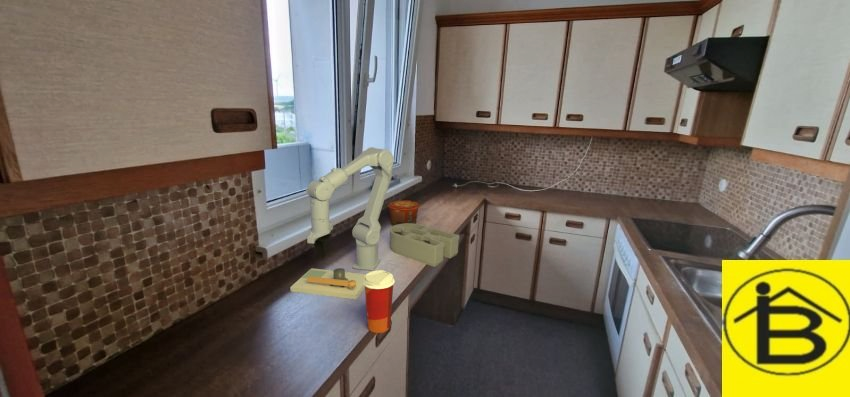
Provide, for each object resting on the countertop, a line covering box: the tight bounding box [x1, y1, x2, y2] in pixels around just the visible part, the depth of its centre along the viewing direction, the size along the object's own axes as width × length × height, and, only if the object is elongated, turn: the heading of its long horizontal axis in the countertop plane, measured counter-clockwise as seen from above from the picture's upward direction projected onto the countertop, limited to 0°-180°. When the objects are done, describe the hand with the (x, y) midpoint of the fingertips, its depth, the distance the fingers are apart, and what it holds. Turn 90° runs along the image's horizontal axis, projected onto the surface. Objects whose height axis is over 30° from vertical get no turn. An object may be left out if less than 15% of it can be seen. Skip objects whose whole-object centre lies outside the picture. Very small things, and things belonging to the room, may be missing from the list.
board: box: [289, 267, 367, 300], centre depth 117 cm, size 14×22×2 cm, turn 80°
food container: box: [387, 199, 420, 226], centre depth 181 cm, size 16×16×11 cm
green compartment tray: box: [389, 223, 460, 268], centre depth 146 cm, size 17×28×9 cm, turn 52°
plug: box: [331, 267, 348, 287], centre depth 115 cm, size 6×6×6 cm
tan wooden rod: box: [307, 276, 356, 288], centre depth 113 cm, size 2×16×1 cm, turn 80°
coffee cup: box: [363, 269, 396, 334], centre depth 94 cm, size 8×8×15 cm
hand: (321, 256), depth 118 cm, fingers closed
